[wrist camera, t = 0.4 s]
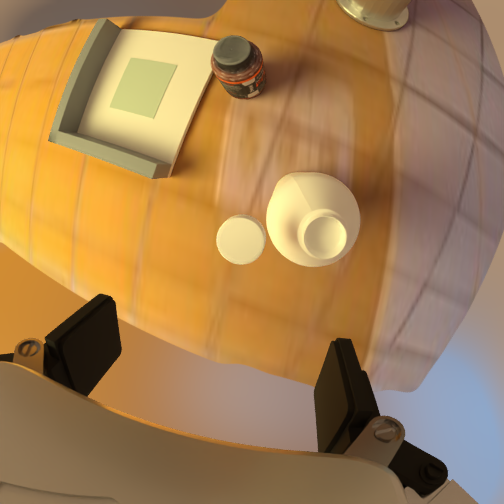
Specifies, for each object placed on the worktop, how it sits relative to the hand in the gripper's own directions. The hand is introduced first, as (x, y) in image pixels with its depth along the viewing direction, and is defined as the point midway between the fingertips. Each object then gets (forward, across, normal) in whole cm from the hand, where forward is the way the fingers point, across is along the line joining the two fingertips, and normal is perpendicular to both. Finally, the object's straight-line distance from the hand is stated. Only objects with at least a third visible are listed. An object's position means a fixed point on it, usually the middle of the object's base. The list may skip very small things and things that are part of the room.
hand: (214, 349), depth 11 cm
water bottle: (+30, -3, -4) cm, 30 cm away
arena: (+29, +22, -18) cm, 41 cm away
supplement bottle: (+30, +5, -20) cm, 36 cm away
